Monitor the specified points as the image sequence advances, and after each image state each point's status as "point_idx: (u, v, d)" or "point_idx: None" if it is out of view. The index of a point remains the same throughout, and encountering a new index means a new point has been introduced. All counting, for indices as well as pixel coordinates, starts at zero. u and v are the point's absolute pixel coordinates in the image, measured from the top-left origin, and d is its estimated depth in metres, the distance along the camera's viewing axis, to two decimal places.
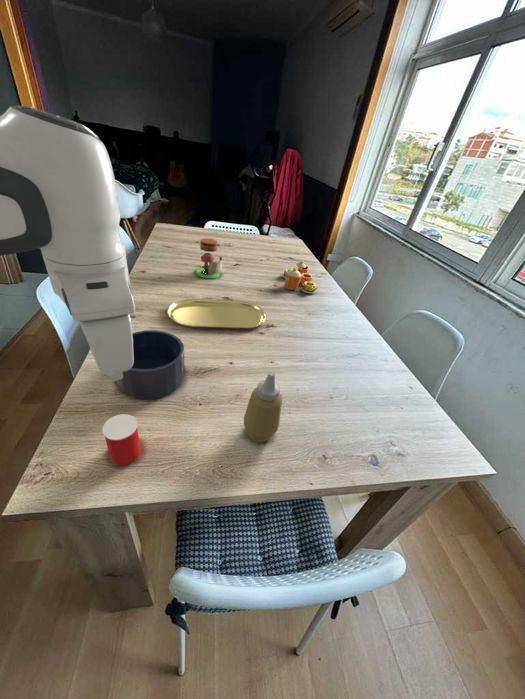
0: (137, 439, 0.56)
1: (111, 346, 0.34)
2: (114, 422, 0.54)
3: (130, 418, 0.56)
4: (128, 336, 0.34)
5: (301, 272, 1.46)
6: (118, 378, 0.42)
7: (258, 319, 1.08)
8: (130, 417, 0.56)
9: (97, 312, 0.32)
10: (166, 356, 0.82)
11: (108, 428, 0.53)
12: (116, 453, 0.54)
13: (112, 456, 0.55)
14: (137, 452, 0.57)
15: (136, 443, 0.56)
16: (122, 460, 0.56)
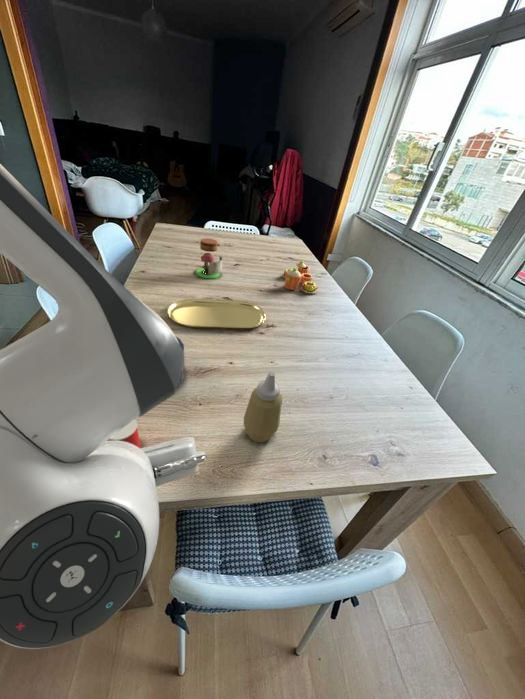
0: (137, 439, 0.56)
1: None
2: None
3: None
4: None
5: (301, 272, 1.46)
6: None
7: (258, 319, 1.07)
8: None
9: None
10: None
11: None
12: None
13: None
14: None
15: (136, 443, 0.56)
16: None
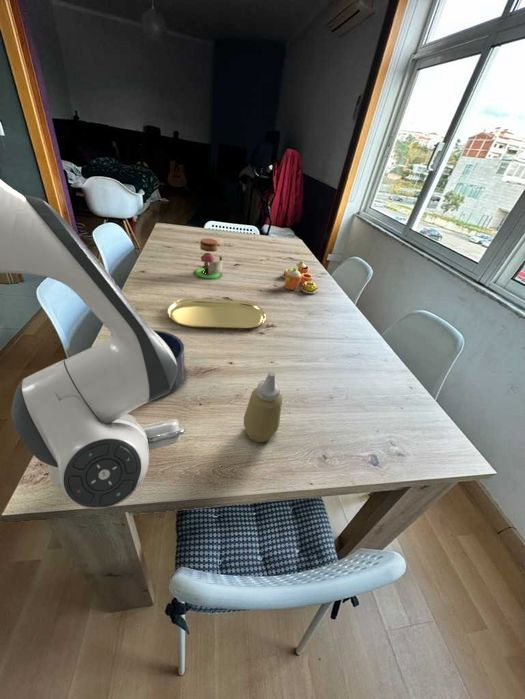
0: None
1: None
2: None
3: (130, 418, 0.56)
4: None
5: (301, 272, 1.46)
6: None
7: (258, 319, 1.07)
8: (130, 417, 0.56)
9: None
10: None
11: None
12: None
13: None
14: None
15: None
16: None
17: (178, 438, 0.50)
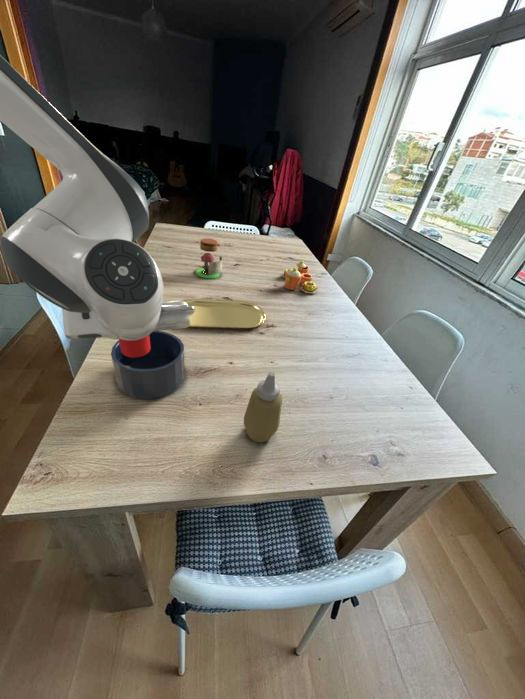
0: None
1: None
2: None
3: None
4: None
5: (301, 272, 1.46)
6: None
7: (258, 319, 1.07)
8: None
9: None
10: (166, 356, 0.82)
11: None
12: (127, 341, 0.55)
13: (123, 346, 0.57)
14: (147, 346, 0.59)
15: None
16: (133, 351, 0.57)
17: (188, 317, 0.51)
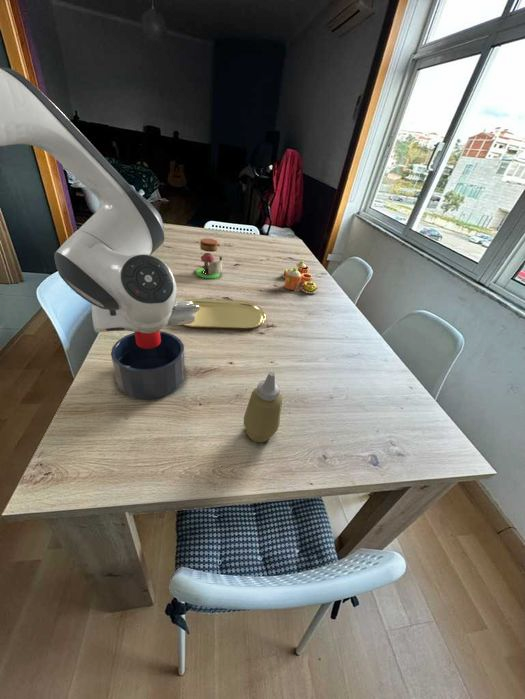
0: None
1: (92, 318, 0.56)
2: None
3: None
4: (94, 327, 0.55)
5: (301, 272, 1.46)
6: None
7: (258, 319, 1.07)
8: None
9: (94, 309, 0.53)
10: (166, 356, 0.82)
11: None
12: (142, 334, 0.66)
13: (138, 339, 0.67)
14: (158, 339, 0.69)
15: None
16: (146, 343, 0.67)
17: (194, 314, 0.62)
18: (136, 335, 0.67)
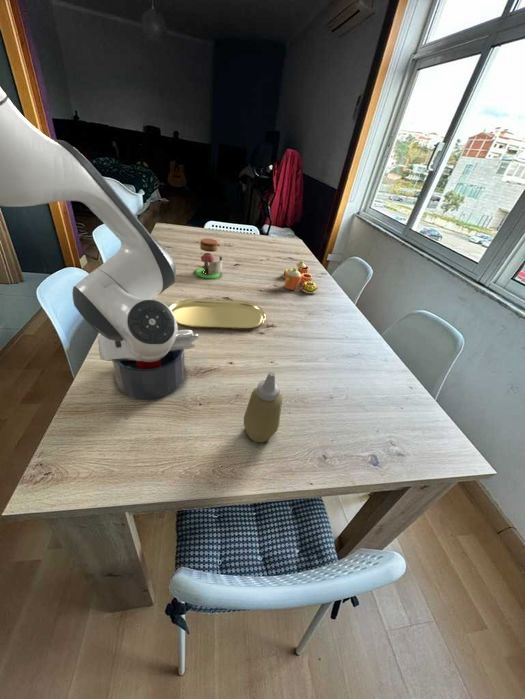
0: (159, 361, 0.74)
1: (99, 348, 0.60)
2: None
3: None
4: (100, 356, 0.59)
5: (301, 272, 1.46)
6: None
7: (258, 319, 1.07)
8: None
9: None
10: (166, 356, 0.82)
11: None
12: None
13: None
14: None
15: (159, 364, 0.74)
16: None
17: (193, 342, 0.66)
18: None
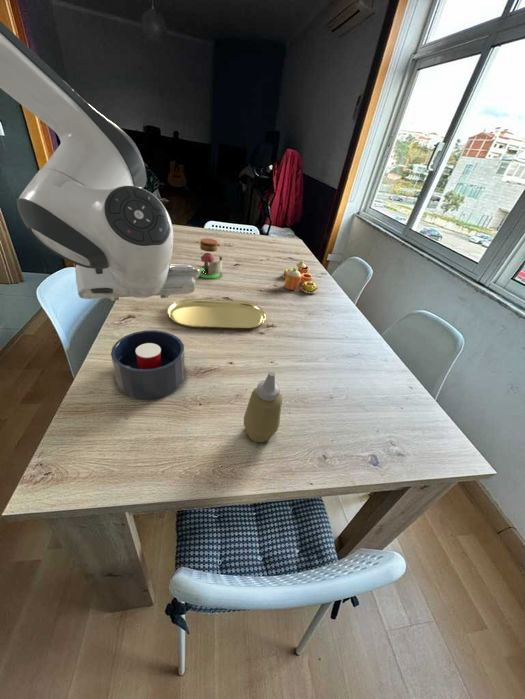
0: (160, 362, 0.74)
1: (76, 280, 0.48)
2: (143, 347, 0.72)
3: (155, 345, 0.73)
4: (78, 290, 0.48)
5: (301, 272, 1.46)
6: None
7: (258, 319, 1.07)
8: (155, 345, 0.74)
9: (77, 266, 0.45)
10: (166, 356, 0.82)
11: (139, 350, 0.71)
12: None
13: None
14: None
15: (159, 365, 0.74)
16: None
17: (194, 280, 0.54)
18: None
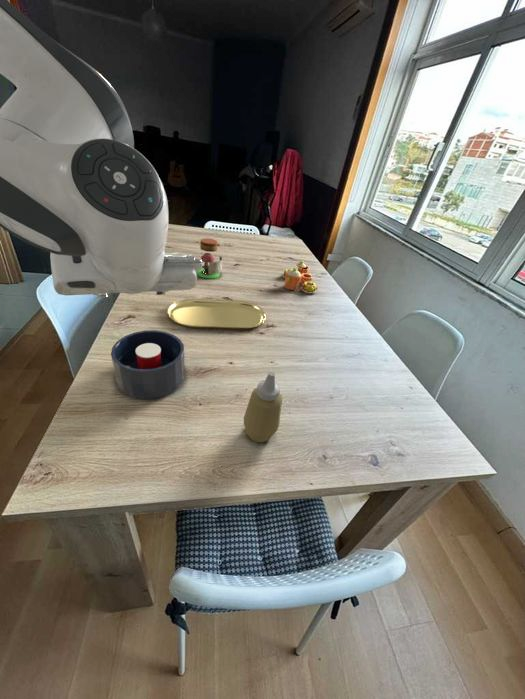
0: (160, 362, 0.74)
1: None
2: (143, 347, 0.72)
3: (155, 345, 0.73)
4: (53, 284, 0.39)
5: (301, 272, 1.46)
6: None
7: (258, 319, 1.07)
8: (155, 345, 0.74)
9: None
10: (166, 356, 0.82)
11: (139, 350, 0.71)
12: None
13: None
14: None
15: (159, 365, 0.74)
16: None
17: (195, 272, 0.45)
18: None
